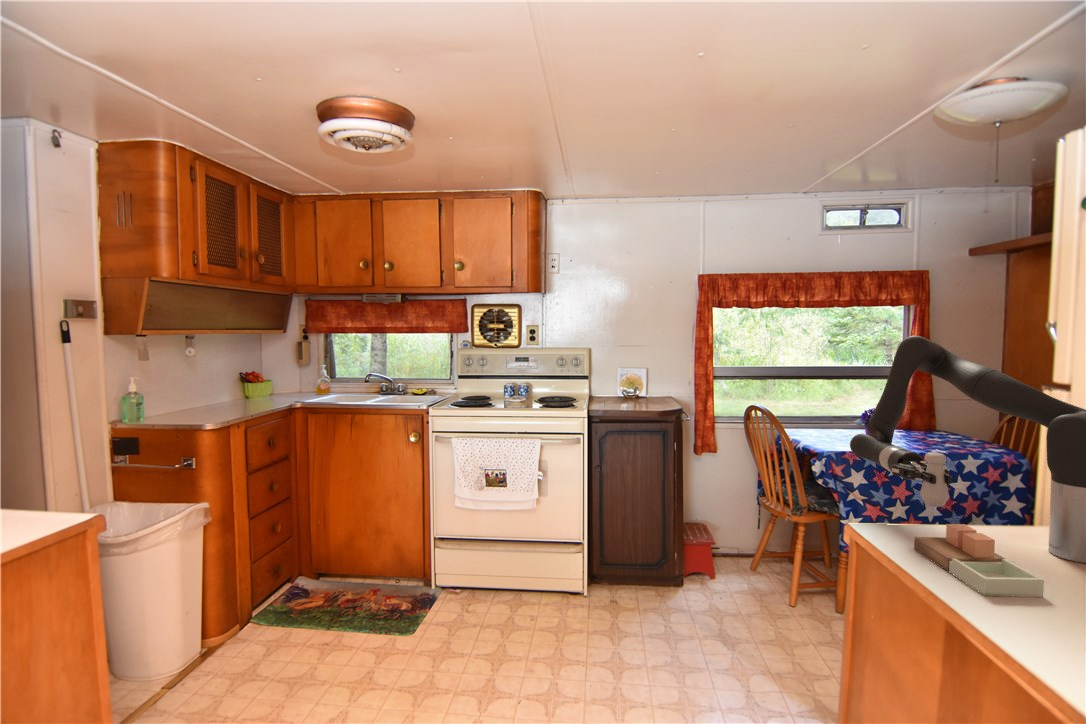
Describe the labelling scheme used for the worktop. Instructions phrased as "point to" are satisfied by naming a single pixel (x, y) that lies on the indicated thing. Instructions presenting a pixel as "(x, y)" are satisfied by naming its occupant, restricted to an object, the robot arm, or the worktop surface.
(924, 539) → the board
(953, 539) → the light orange cube
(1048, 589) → the worktop surface
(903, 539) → the worktop surface
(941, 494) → the salt shaker
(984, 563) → the tray
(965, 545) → the peach cube
